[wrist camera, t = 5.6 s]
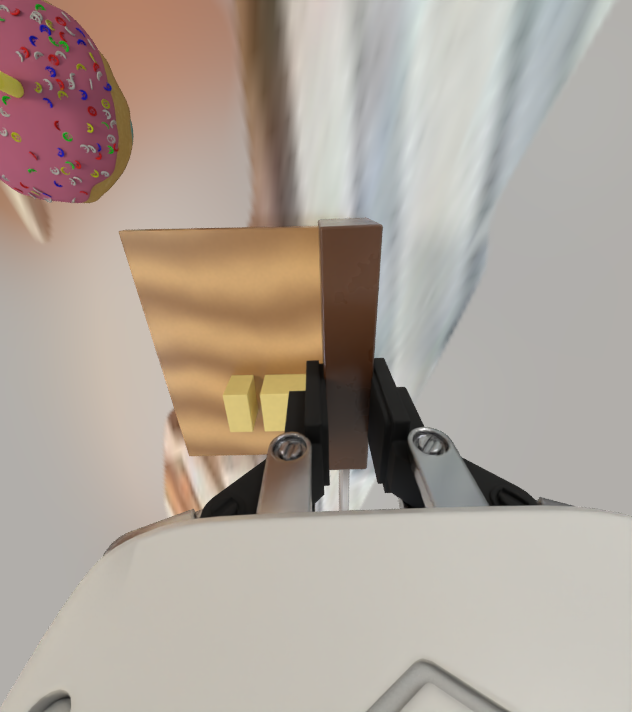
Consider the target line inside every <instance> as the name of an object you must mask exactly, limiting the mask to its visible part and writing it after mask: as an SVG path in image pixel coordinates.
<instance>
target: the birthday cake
mask: <svg viewBox="0 0 632 712" xmlns="http://www.w3.org/2000/svg"><path fill="white" fill-rule="evenodd" d="M132 145H133V128H132V123H131V119H130V111H129V107H128V104H127V101H126V99H125V97H124V95H123V93H122V92H121V90H120V88H119V86H118V84H117V82H116V80H115V78H114V76H113V74H112V71H111V68H110V66H109V64H108V62H107V61H106V59H105V58H104V56H103V55H102V54H101V53H100V51H99V50H98V49H97V47H96V45H95V44H94V42H93V41H92V39H91V38H90V37H89V35H88V34H87V33H86V31H85V30H84V29H83V28H82V27H81V26H80V25H79V24H78V23H77V21H76V20H74V19H73V18H72V17H71V16H70V15H68V14H67V13H66V12H64V11H62V10H61V9H59V8H56V7H55V6H53V5H52V4H50V3H49V2H47V1H45V0H0V180H2V181H3V182H4V183H6V184H7V185H8V186H10V187H11V188H12V189H14V190H16V191H17V192H19V193H21V194H24V195H26V196H29V197H32V198H35V199H42V200H46V201H47V202H49V203H51V202H52V201H61V202H70V203H91V202H95V201H97V200H98V199H99V198H100V197H101V196H102V195H103V194H104V193H106V192H107V191H108V190H109V189H110V188H111V187H112V186H113V185H114V184H115V182H116V181H117V180H118V179H119V177H120V176H121V174H122V173H123V171H124V170H125V168H126V166H127V163H128V161H129V158H130V155H131V150H132Z"/></svg>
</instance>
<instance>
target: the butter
mask: <svg viewBox="0 0 632 712" xmlns="http://www.w3.org/2000/svg"><path fill="white" fill-rule="evenodd" d="M289 391H306V374H282V375H265V377H264V381H263V385H262V388H261V392H260V399H261V407H262V414H263V422H264V429H265V431H285V422H286V413H287V405H288V396H289Z"/></svg>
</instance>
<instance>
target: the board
mask: <svg viewBox="0 0 632 712" xmlns="http://www.w3.org/2000/svg"><path fill="white" fill-rule="evenodd" d="M119 235H120V238H121V241H122V244H123V247H124V251H125V253H126V257H127V260H128V263H129V266H130V270H131V273H132V276H133V279H134V282H135V285H136V288H137V292H138V295H139V298H140V301H141V304H142V307H143V311H144V314H145V317H146V320H147V323H148V326H149V329H150V333H151V336H152V339H153V342H154V346H155V349H156V352H157V355H158V358H159V361H160V364H161V368H162V371H163V374H164V377H165V380H166V384H167V386H168V390H169V393H170V396H171V399H172V403H173V406H174V409H175V412H176V415H177V419H178V422H179V425H180V428H181V431H182V434H183V438H184V441H185V444H186V447H187V450H188V453H189V456H218V455H265V454H267V452H268V447H269V445H270V442H271V441H272V440H273V439H274V438H275V437H277V436H278V435H280V434H283V433H284V431H265V429H264V422H263V414H262V407H261V399H260V392H261V388H262V385H263V381H264V377H265V375H282V374H306V361H313V360H319V364H321V363H322V333H321V302H320V270H319V239H318V226H293V227H243V228H194V229H145V230H123V231H119ZM232 375H253V376H254V382H255V389H256V396H257V403H258V414H257V418H256V422H255V426H254V430H253V432H230V428H229V423H228V419H227V414H226V409H225V404H224V400H223V393H224V391H225V389H226V387H227V384H228V382H229V380H230V378H231V376H232Z"/></svg>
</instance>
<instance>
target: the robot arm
mask: <svg viewBox="0 0 632 712" xmlns="http://www.w3.org/2000/svg"><path fill="white" fill-rule="evenodd" d="M368 442H369V447H370V451H371V456H372V460H373V464H374V469H375V473H376V478H377V482H378V484H381V483H382V484H383V487H384V491H385V493H393V494H394V495H396V496H397V497H399V498H398V502H399V507H400V509H382V510H381V509H379V510H350V511H323V512H315V503H316V502H317V501H318V500H319V499H320V498H321V497H322V496H323V495H324V486H328V485H330V478H329V431H328V412H327V398H326V383H325V380H324V374H323V363H321V364H319V360H313V361H306V391H289V396H288V405H287V413H286V422H285V431H284V433H283V434H280V435H278V436H277V437H275V438H274V439H273V440H272V441H271V442H270V445H269V447H268V452H267V458H266V459H265V460H264V461H263V462H261V463H260V464H259V465H257V466H256V467H254V468H253V469H252V470H250V471H249V472H248V473H246V474H245V475H243V476H242V477H241V478H239V479H238V480H237V481H235V482H234V483H232V484H231V485H230V486H228V487H227V488H226V489H224V490H223V491H222V492H220V493H219V494H217V495H216V496H215V497H213V498H212V499H211V500H210V501H209V502H208V503H207V504H206V506H205V507H204V508H203V509H202V510H199V511H197V512H195V510H194V509H192V510H189V511H186V512H183V513H181V514H178V515H175V516H172V517H169V518H167V519H164V520H161V521H158V522H156V523H153V524H150V525H148V526H145V527H142V528H139V529H137V530H133V531H131V532H128V533H126V534H124V535H122V536H121V537H119V538H118V539H117V540H116V541H114V542H113V543H112V544H111V545H110V546H109V548H108V549H107V550H106V551H105V553H104V555H103V557H102V558H101V559H100V560H99V561H98V562H97V563H96V564H95V565H94V566H93V567H92V568H91V570H90V571H89V572H88V573H87V574H86V576H85V577H84V578H83V579H82V580H81V582H80V583H79V584H78V586H77V587H76V589H75V590H74V592H73V593H72V594H71V596H70V597H69V598H68V600H67V601H66V603H65V604H64V606H63V607H62V609H61V610H60V612H59V613H58V615H57V616H56V618H55V619H54V621H53V623H52V624H51V625H50V627H49V628H48V630H47V631H46V633H45V635H44V636H43V638H42V640H41V641H40V643H39V644H38V646H37V648H36V649H35V651H34V653H33V654H32V656H31V658H30V659H29V661H28V662H27V664H26V666H25V667H24V669H23V671H22V672H21V674H20V675H19V677H18V679H17V680H16V682H15V684H14V685H13V687H12V688H11V690H10V692H9V693H8V695H7V697H6V698H5V700H4V702H3V704H2V705H1V707H0V712H632V516H629V515H626V514H622V513H617V512H612V511H606V510H601V509H595V508H586V507H576V506H572V505H568V504H564V503H560V502H557V501H553V500H549V499H545V498H541V497H540V498H539V499H538V501H537V500H535V499H534V498H532V496H530V495H529V494H528V493H527V492H526V491H524V490H522V489H521V488H519V487H518V486H516V485H514V484H512V483H510V482H508V481H506V480H504V479H502V478H500V477H498V476H496V475H495V474H493V473H491V472H489V471H487V470H485V469H483V468H481V467H479V466H477V465H475V464H473V463H472V462H469V461H467V460H466V459H464V458H462V457H461V456H460V454H459V452H458V451H457V449H456V447H455V446H454V444H453V442H452V440H451V439H450V438H449V437H448V436H447V435H446V434H444V433H443V432H441V431H439V430H437V429H434V428H430V427H424V425H423V423H422V421H421V419H420V417H419V414H418V412H417V410H416V408H415V406H414V404H413V402H412V400H411V398H410V395H409V393H408V391H407V389H406V388H405V387H396V385H395V383H394V380H393V378H392V376H391V373H390V371H389V369H388V366H387V364H386V362H385V359H384V358H374V366H373V378H371V393H370V408H369V424H368Z"/></svg>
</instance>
